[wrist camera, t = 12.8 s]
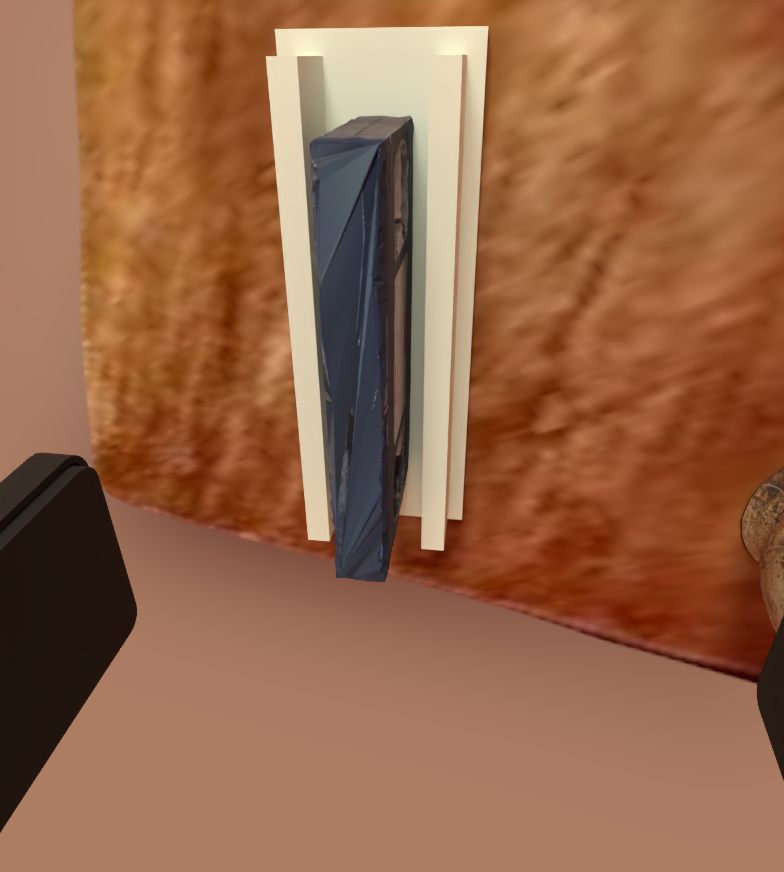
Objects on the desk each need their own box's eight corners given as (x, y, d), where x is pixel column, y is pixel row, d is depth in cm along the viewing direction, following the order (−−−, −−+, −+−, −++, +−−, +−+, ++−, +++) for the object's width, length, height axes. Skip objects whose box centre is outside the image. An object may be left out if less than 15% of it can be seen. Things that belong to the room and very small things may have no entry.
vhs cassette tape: (411, 468, 39) (385, 587, 30) (360, 463, 39) (320, 579, 30) (426, 114, 29) (396, 139, 21) (359, 111, 30) (303, 135, 21)
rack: (488, 26, 28) (486, 22, 24) (462, 511, 41) (458, 566, 36) (280, 29, 29) (242, 25, 25) (316, 501, 42) (295, 552, 37)
